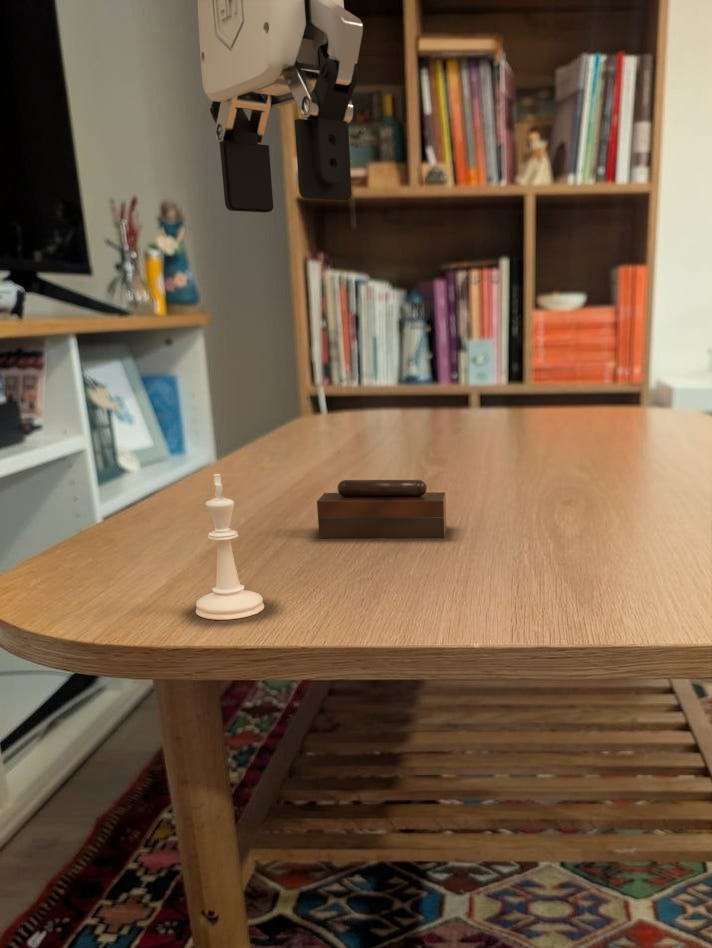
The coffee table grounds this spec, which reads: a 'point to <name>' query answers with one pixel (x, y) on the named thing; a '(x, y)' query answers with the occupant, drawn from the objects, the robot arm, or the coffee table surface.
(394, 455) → the coffee table surface
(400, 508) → the brush
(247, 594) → the chess piece
